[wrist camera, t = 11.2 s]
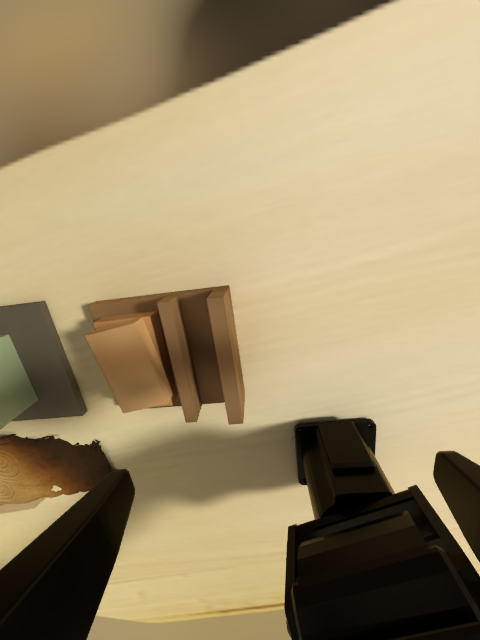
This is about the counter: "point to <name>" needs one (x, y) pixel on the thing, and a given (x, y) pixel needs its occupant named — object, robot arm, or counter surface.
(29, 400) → the block
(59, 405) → the mat
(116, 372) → the offcut upper
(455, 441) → the counter surface
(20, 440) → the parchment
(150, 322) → the offcut lower
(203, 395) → the rack
